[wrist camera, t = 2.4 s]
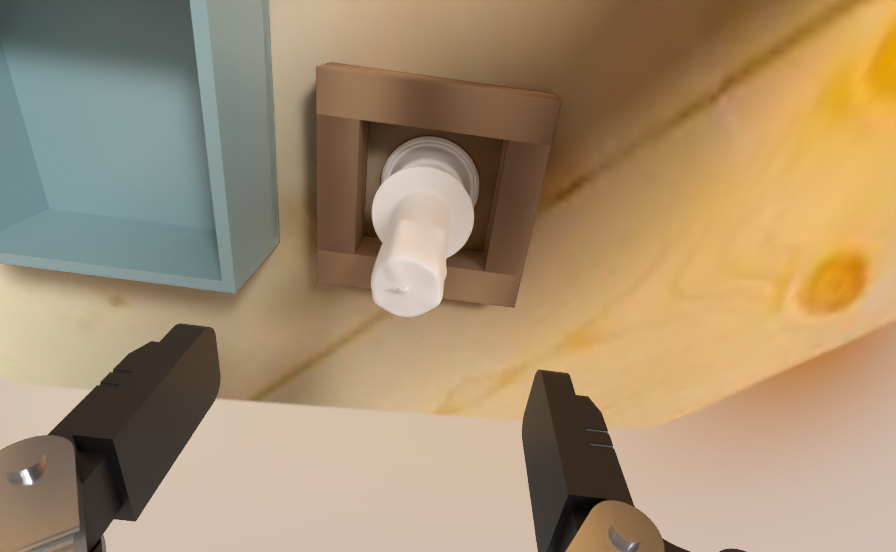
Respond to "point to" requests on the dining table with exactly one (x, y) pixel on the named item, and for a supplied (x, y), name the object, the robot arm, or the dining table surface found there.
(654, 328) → the dining table surface
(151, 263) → the bin
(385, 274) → the candle
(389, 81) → the collar block
